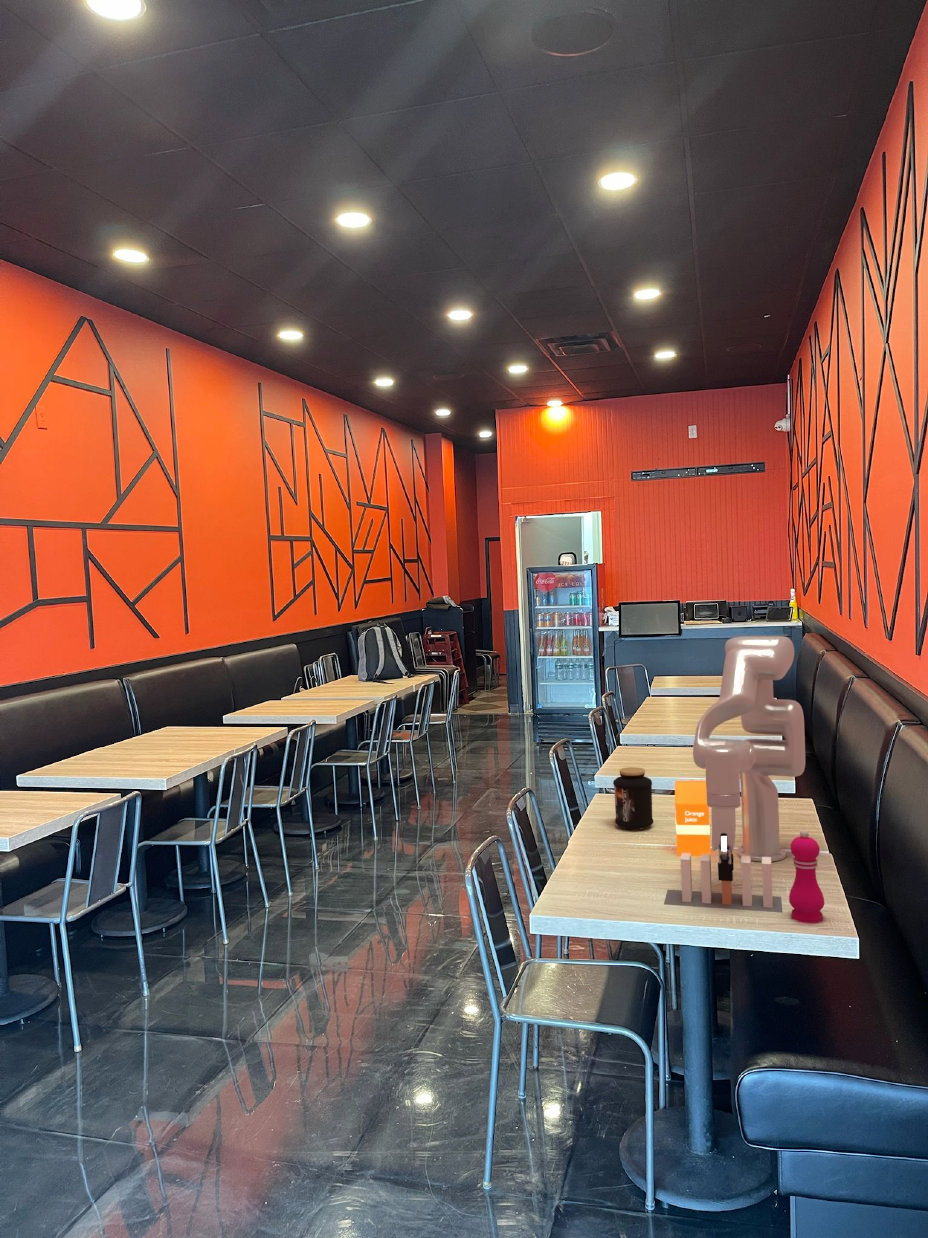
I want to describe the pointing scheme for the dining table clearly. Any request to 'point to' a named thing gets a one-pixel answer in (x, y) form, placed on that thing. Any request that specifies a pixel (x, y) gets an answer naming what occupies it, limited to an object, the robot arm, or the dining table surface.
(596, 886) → the dining table surface
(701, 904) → the mat
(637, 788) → the container
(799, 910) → the pepper mill
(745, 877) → the domino
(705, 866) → the domino
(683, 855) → the domino
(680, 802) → the orange juice
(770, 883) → the domino
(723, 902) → the domino
